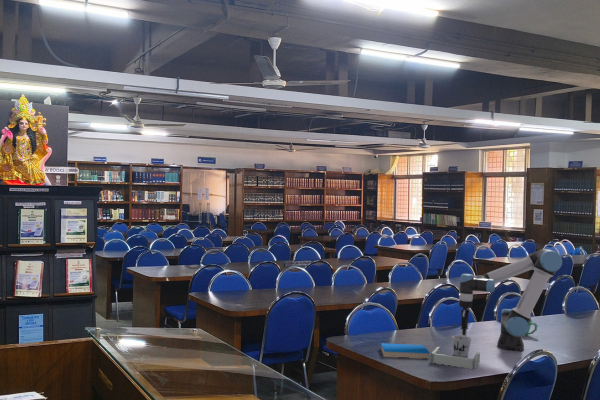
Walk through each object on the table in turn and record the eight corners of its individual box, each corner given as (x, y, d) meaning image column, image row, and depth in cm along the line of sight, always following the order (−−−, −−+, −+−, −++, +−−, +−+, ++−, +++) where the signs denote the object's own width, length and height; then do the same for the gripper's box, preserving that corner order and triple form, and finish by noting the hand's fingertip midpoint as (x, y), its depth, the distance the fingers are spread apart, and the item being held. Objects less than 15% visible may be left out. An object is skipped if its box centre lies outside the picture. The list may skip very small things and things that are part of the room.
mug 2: (512, 334, 372) (512, 319, 372) (521, 332, 377) (521, 317, 377) (532, 338, 360) (533, 323, 360) (541, 337, 365) (541, 321, 365)
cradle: (479, 361, 302) (479, 352, 302) (475, 369, 287) (475, 359, 287) (437, 355, 312) (437, 346, 312) (430, 362, 297) (430, 353, 297)
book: (429, 352, 305) (384, 350, 305) (429, 360, 305) (384, 358, 305) (423, 344, 322) (380, 342, 323) (423, 352, 322) (380, 349, 323)
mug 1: (450, 356, 312) (450, 338, 312) (453, 349, 326) (453, 332, 326) (469, 358, 308) (470, 340, 308) (471, 352, 322) (472, 334, 322)
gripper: (461, 298, 335) (459, 336, 335) (457, 301, 323) (455, 341, 323) (473, 299, 332) (472, 338, 332) (470, 302, 320) (468, 343, 320)
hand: (463, 340), depth 328 cm, fingers closed
